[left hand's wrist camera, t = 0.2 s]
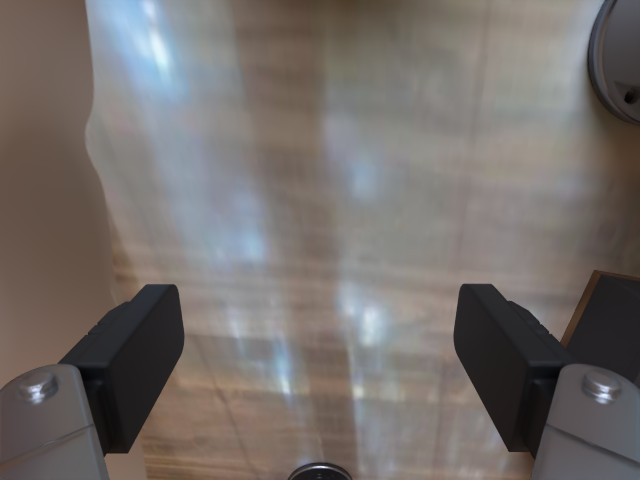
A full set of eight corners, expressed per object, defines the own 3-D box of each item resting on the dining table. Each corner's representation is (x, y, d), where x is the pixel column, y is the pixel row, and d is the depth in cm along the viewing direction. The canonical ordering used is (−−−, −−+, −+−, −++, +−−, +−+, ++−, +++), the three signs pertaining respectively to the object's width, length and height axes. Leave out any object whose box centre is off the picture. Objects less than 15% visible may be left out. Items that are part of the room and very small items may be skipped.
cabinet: (604, 428, 50) (668, 502, 41) (525, 415, 50) (572, 489, 40) (685, 286, 43) (784, 337, 34) (594, 270, 43) (670, 318, 33)
